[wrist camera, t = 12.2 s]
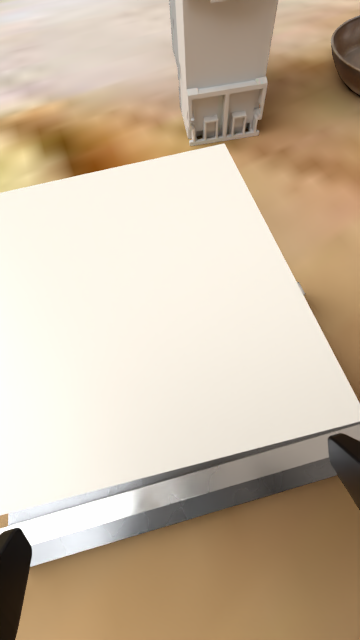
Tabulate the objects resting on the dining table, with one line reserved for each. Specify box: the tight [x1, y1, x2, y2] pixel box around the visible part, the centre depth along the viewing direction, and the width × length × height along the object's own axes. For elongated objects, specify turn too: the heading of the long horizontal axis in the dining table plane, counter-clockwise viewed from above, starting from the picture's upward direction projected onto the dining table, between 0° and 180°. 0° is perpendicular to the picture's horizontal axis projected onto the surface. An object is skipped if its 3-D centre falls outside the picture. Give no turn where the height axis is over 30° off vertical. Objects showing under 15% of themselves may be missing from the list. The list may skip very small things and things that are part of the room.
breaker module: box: [0, 144, 360, 515], centre depth 11 cm, size 7×6×13 cm
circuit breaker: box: [169, 0, 278, 146], centre depth 25 cm, size 8×14×15 cm, turn 8°
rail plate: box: [0, 282, 360, 567], centre depth 16 cm, size 12×20×2 cm, turn 104°
